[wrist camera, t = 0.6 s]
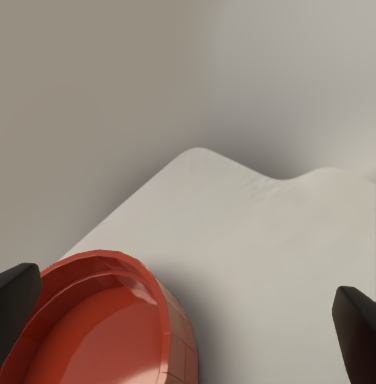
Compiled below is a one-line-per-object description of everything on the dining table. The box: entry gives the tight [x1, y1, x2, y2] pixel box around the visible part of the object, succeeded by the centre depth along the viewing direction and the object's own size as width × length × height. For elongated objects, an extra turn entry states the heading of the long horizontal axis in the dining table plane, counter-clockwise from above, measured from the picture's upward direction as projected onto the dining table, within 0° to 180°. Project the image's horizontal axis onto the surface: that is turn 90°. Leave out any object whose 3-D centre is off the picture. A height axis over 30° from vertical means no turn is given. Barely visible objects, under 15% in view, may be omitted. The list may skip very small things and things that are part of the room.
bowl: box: [0, 250, 198, 384], centre depth 22 cm, size 16×16×6 cm
